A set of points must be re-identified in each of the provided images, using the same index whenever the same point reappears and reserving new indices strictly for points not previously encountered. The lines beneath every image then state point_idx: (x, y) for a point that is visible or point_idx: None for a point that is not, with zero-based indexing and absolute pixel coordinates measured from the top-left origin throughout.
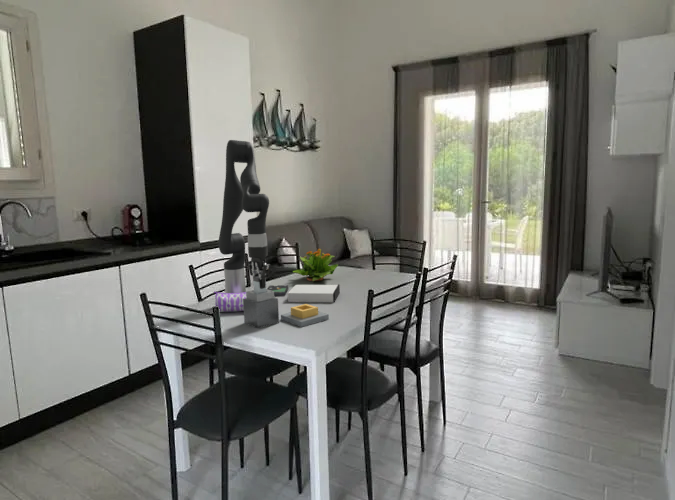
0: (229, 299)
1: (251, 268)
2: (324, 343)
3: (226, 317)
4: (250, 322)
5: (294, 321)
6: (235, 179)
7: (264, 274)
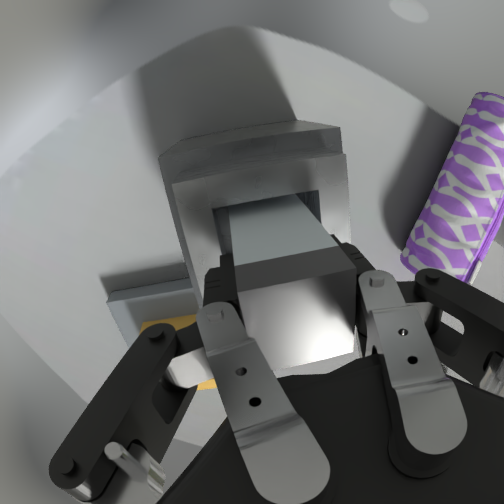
0: (487, 148)
1: (471, 329)
2: None
3: (414, 98)
4: (242, 128)
5: (148, 291)
6: None
7: (120, 374)
